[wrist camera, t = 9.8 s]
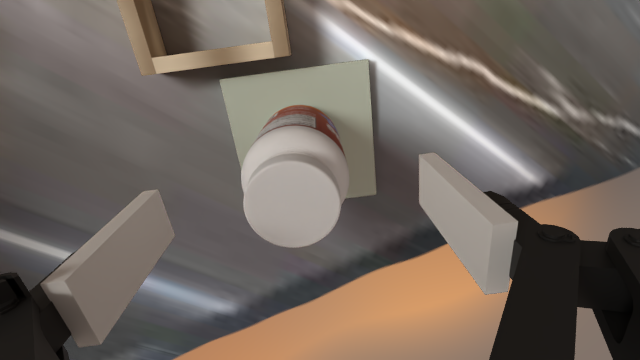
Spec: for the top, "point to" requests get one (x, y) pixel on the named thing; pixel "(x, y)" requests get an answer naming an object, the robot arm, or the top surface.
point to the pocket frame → (155, 60)
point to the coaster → (313, 90)
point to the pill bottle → (295, 177)
